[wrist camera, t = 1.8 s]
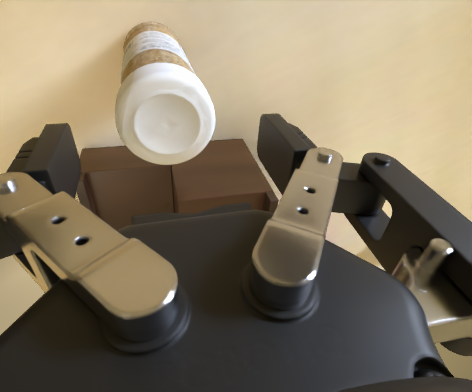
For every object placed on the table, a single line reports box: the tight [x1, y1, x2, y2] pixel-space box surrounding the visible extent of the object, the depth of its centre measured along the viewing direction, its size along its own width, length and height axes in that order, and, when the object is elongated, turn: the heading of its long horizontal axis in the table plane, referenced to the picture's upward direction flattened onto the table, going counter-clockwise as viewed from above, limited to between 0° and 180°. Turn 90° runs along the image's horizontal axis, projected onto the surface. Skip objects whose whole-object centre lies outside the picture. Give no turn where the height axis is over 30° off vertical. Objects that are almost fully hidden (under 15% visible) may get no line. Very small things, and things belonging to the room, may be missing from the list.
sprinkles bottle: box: [115, 22, 215, 165], centre depth 19 cm, size 5×5×13 cm
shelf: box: [77, 139, 278, 231], centre depth 29 cm, size 14×15×10 cm
